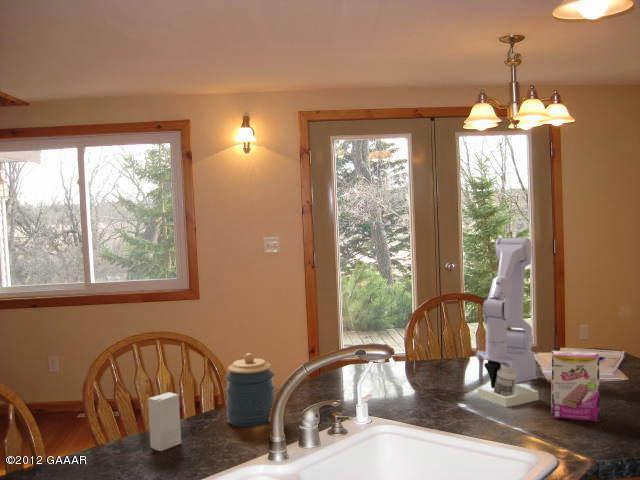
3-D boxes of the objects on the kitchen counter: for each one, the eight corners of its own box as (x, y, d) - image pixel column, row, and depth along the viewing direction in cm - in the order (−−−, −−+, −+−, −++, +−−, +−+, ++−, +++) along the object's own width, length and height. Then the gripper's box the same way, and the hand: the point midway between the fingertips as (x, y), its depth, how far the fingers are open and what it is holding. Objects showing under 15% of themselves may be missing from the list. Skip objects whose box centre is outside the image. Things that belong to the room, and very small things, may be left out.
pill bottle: (499, 388, 176) (504, 358, 173) (516, 396, 172) (522, 365, 170) (489, 394, 172) (495, 363, 169) (507, 403, 169) (512, 371, 166)
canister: (236, 431, 152) (233, 361, 151) (220, 417, 163) (217, 352, 163) (284, 421, 158) (281, 354, 157) (265, 408, 169) (262, 345, 169)
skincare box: (171, 440, 148) (168, 391, 147) (182, 444, 145) (180, 394, 144) (149, 448, 143) (146, 397, 142) (160, 452, 140) (158, 400, 139)
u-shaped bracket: (509, 390, 178) (509, 381, 178) (538, 400, 168) (538, 391, 168) (477, 397, 173) (477, 388, 173) (505, 407, 163) (505, 398, 163)
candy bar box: (552, 419, 153) (550, 354, 152) (551, 412, 158) (550, 350, 157) (600, 422, 149) (599, 356, 149) (598, 416, 154) (597, 352, 153)
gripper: (468, 337, 178) (468, 383, 179) (503, 346, 165) (503, 396, 166) (487, 335, 181) (487, 380, 182) (522, 344, 168) (522, 392, 169)
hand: (496, 387), depth 174 cm, fingers closed, pressing on pill bottle
